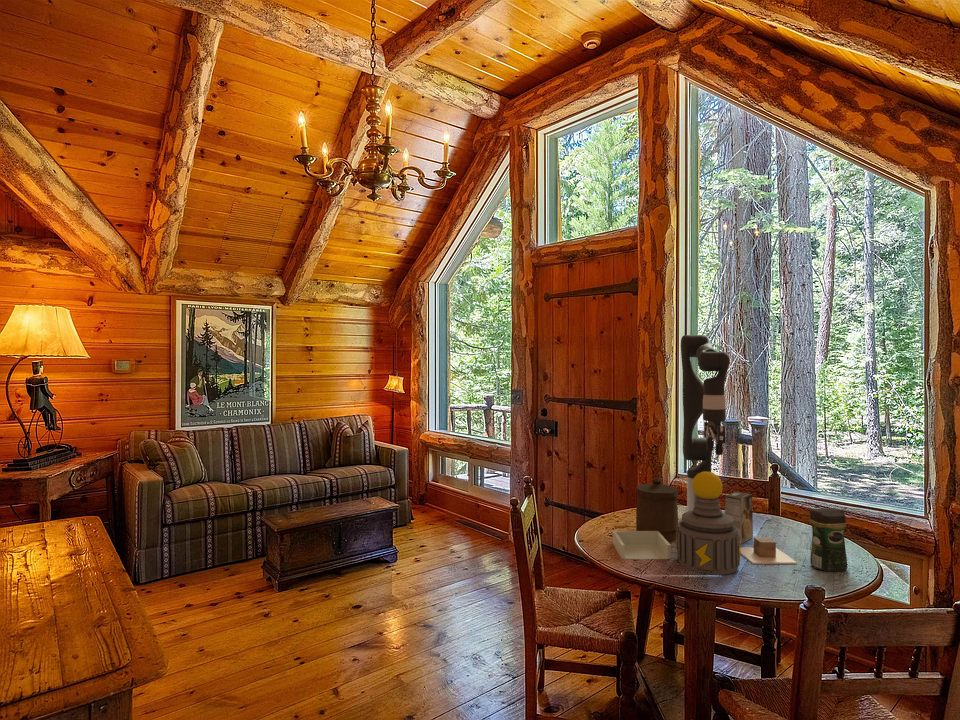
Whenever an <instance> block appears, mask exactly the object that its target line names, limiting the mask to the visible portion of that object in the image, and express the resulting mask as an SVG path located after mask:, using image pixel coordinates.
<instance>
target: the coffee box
mask: <svg viewBox="0 0 960 720" xmlns="http://www.w3.org/2000/svg"><path fill="white" fill-rule="evenodd" d="M724 514H727V515H729V516H730V517H732V518H733V519H734V526H735V527H736V528H737V531H738V534H739V536H740V544H744V543H745V542H748V541H750V539H754V528H753V527H754V526H753V525H754V524H753V523H754V520H753V515H754V514H753V494H752V493H746V492H745V493H744V492H741V491H740V492H739V491H734V492H731V493H729V494H726V495H724Z"/></svg>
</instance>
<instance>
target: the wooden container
mask: <svg viewBox="0 0 960 720" xmlns="http://www.w3.org/2000/svg"><path fill="white" fill-rule="evenodd" d="M651 481H652V483H644V484H643V483H642V484H639V485H637V486H636V500H635V501H636V508H635V515H636V516H635V524H636V525H635V527H636V529H635V531H659V532H660V534H661V535H662V536H663V537H664V538H665V539H666V540H667V542H668V543H671V542H675V541H677V534H676V531H677V528H678V527H679V509H678V504H679V503H678V498H679V497H678V495H679V493H678V488H677V487H675V486H672V485H667V484H662V482H663V480H662V479H661V478H660V477H656V476H655V477H653V478H652V480H651Z"/></svg>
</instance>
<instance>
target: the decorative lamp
mask: <svg viewBox="0 0 960 720" xmlns="http://www.w3.org/2000/svg"><path fill="white" fill-rule="evenodd" d="M723 487H724V486H723V482H722V480H721V478H720V477H719V476H718V475H717V474H716V473H714V472H713V471H711V472H701V473H699V474H697V475H696V476H695V477H694V479H693V482H692V488H693V491H694V493H695V494H696V495H697V497H696V500H697V501H696V502H695V504H694V506H695V507H694V508H693V510H692V511H688V512H687V511H686V512H684V513H682V514H681V521H680V522H678V528H677V531H676V534H677V540H676V543H675V547H676V550H677V551H676V553H677V558H678V561H679V563H680V564H681V566H683V567H685V568H686V569H688V570H691V571H694V572H698V573H702V574H707V575H723V576H725V575H731V574H734V573H736V572H737V570H738V569H739V567H740V564H741V551H740V548H741V543H740V536H739V534H738V531H737V528H736V527H735V526H734V519H733V518H732V517H730V516H729V515H727V514H725V512H723V511H722V509H721V508H722V507H721V504H720V501H719V497H720V496H721V495H722V492H723V490H724V489H723Z"/></svg>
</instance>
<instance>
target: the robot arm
mask: <svg viewBox="0 0 960 720" xmlns="http://www.w3.org/2000/svg"><path fill="white" fill-rule="evenodd" d="M680 338H681V339H680V356H681V357H680V358H681V366H682V412H683V413H682V414H683V416H682V417H683V431H682V432H683V433H682V453H683V454H682V455H683V457H684V460H686V461H694V462H695V461H697V462H698V461H699V462H700V463H699V464H697V465H695V466H693V467H690V468H688V469H687V470H686V496H687V499H686V500H687V501H686V503H687V504H686V508H687V509H686V512H688V511H692V510H693V508H694V507H695V506H694V504H695V502H696V501H697V500H696V497H697V495H696V494H695V493H694V491H693V488H692V482H693V479H694V477H695V476H696V475H697V474H699V473H701V472H712V457H713V451H714V442H715V455H716V456H722V455H723V454H724V453H723V452H724V451H723V448H724V446H723V445H724V444H726V440H727V439H726V426H725V425H722V423H721V422H725V421H726V420H727V419H726V417H727V416H726V415H727V413H726V411H727V410H726V407H727V406H726V394H725V391H726V390H725V385H726V384H725V383H726V378H727V373H728V371H729V367H730V363H731V357H730V355H729V354H728V353H727V352H726V351H717V350H716V349H715V348H714V347H713V345H712V342H711V339H710V338H709V337H708V335H705V334H683V335H682V337H680ZM691 358H696V359H697V366H698V368H699V370H701V371H703V372H717V374H716V375H715V376H713V377H708V378H705V379H704V380H703V381H702V380H701V378H700V377H699V375H698V374H697V373H696V371H695V369H694V368H693V365H692V361H691ZM701 417H702V420H703V421H704V422H703V437H693V432H694V429H695V426H696V424H697V423H698V421H699V420H700V418H701Z"/></svg>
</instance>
